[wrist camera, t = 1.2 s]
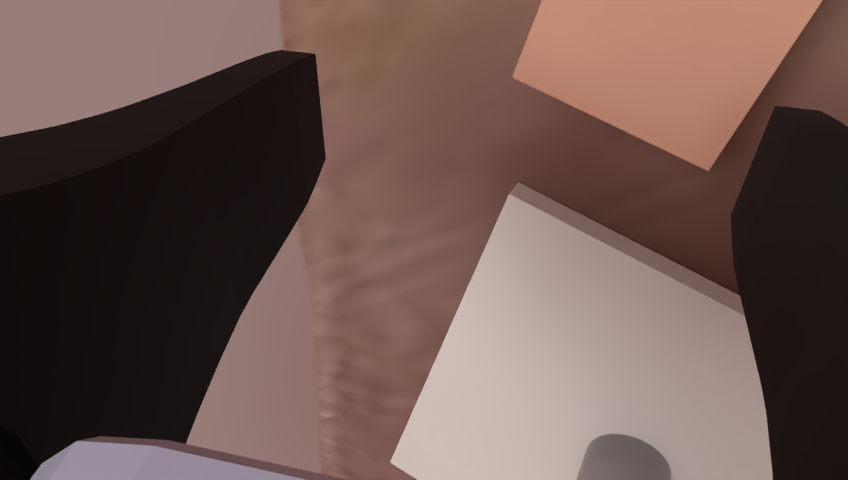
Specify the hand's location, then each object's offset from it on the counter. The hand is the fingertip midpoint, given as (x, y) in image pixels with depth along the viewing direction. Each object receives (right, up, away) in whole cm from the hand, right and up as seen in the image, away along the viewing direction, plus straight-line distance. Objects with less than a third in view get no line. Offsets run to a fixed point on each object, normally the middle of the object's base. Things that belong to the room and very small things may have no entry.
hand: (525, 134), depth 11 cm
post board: (+7, -11, +17) cm, 21 cm away
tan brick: (+6, +5, +8) cm, 11 cm away
